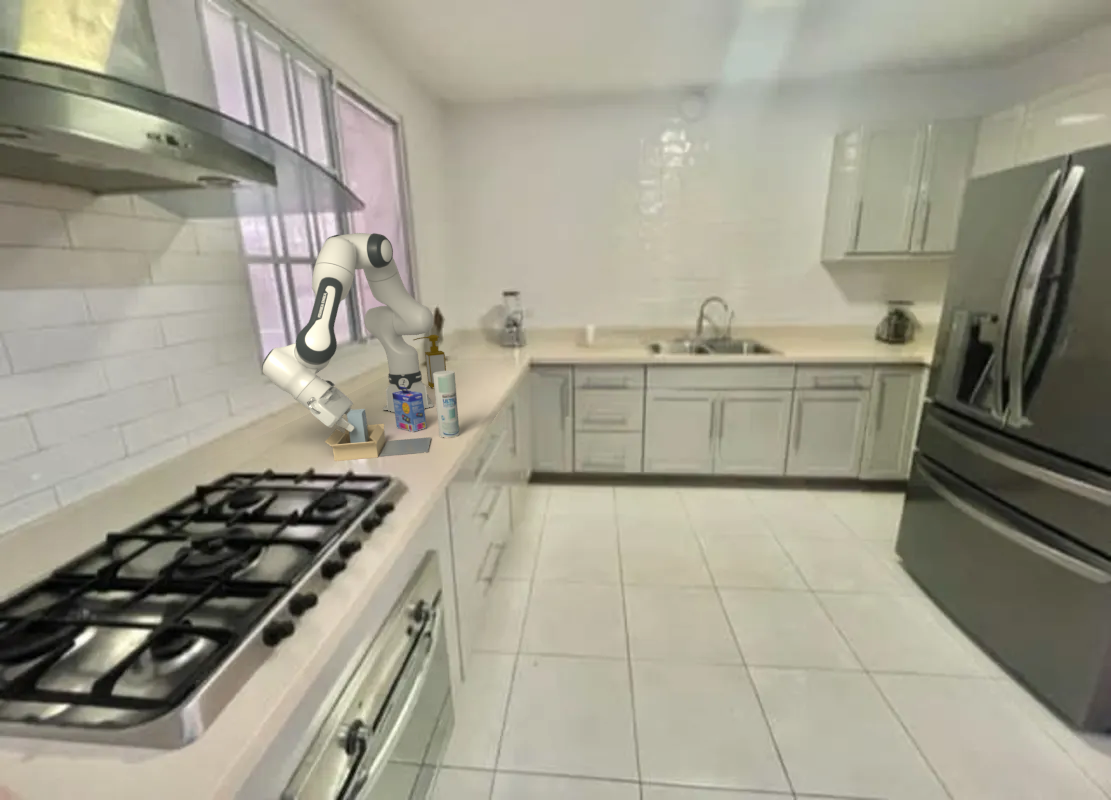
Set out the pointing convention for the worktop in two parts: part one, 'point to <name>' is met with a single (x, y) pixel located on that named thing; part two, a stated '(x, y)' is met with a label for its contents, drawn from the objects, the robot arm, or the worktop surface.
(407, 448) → the plate
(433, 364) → the soap bottle
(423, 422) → the ink cartridge box
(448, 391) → the spray can
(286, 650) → the worktop surface
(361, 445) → the carton
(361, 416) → the blue-grey rectangular block
